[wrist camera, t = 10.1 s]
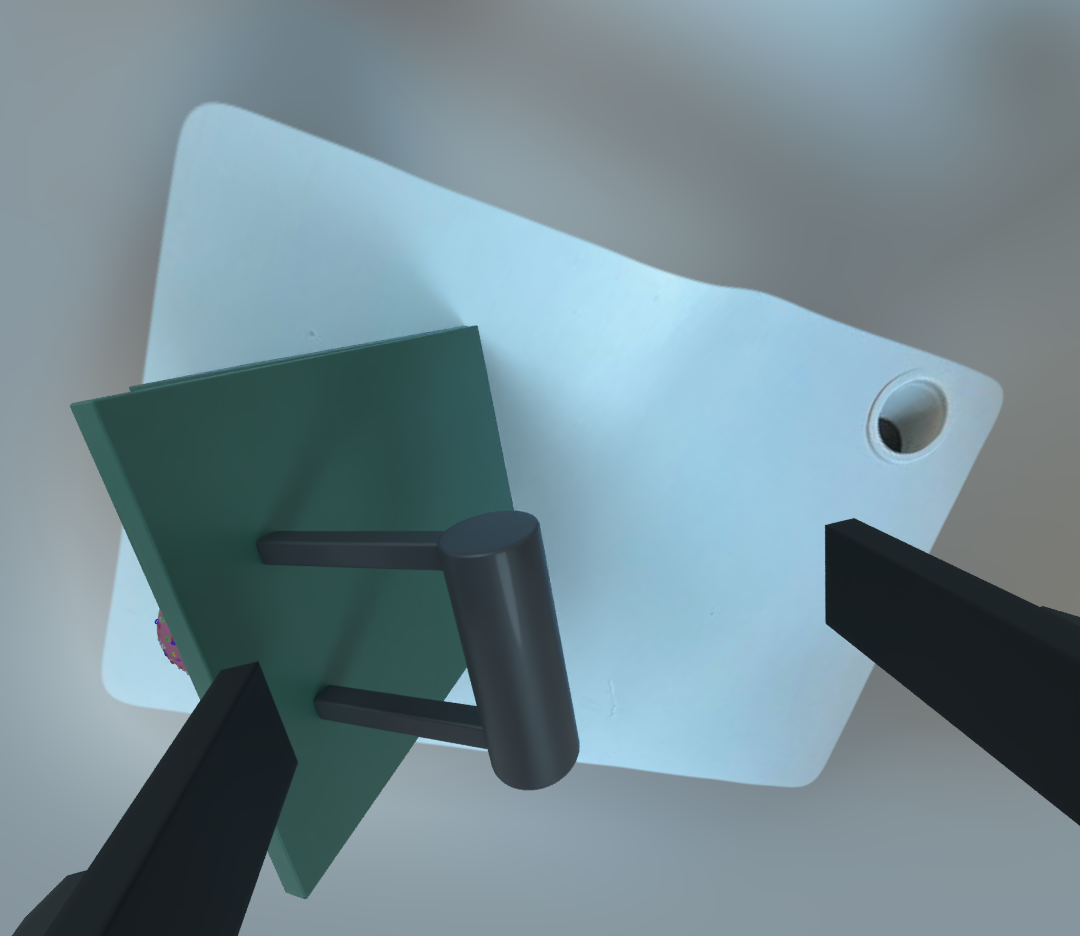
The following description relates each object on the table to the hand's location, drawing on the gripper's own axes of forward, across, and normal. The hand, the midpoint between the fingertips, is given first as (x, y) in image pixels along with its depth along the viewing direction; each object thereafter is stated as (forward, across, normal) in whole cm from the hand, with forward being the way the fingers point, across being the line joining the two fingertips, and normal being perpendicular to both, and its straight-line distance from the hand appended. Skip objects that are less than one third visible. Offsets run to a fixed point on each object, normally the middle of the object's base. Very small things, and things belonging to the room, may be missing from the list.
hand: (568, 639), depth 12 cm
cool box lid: (+9, -5, 0) cm, 10 cm away
